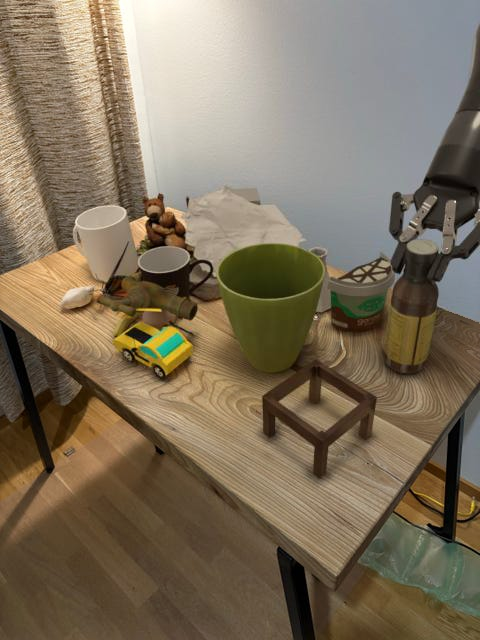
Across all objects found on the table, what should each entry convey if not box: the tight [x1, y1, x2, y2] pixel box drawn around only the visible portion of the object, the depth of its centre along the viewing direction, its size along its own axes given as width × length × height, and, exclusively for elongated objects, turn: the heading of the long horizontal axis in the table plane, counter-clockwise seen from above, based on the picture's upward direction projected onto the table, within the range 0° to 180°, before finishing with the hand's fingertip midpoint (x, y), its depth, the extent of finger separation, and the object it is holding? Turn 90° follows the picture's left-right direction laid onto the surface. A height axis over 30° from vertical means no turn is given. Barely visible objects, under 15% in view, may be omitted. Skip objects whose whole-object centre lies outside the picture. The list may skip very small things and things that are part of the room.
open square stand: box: [261, 358, 378, 480], centre depth 68 cm, size 10×10×7 cm
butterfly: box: [90, 241, 129, 313], centre depth 94 cm, size 12×10×10 cm
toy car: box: [112, 308, 195, 380], centre depth 81 cm, size 12×8×8 cm, turn 53°
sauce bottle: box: [384, 238, 440, 374], centre depth 74 cm, size 6×6×20 cm
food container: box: [327, 252, 396, 333], centre depth 86 cm, size 12×6×10 cm, turn 126°
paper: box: [180, 184, 307, 277], centre depth 100 cm, size 24×6×20 cm
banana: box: [112, 311, 144, 339], centre depth 90 cm, size 8×2×4 cm
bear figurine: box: [136, 192, 198, 264], centre depth 105 cm, size 14×15×12 cm
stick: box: [169, 321, 195, 337], centre depth 86 cm, size 6×1×2 cm
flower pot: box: [216, 243, 325, 374], centre depth 78 cm, size 15×15×16 cm
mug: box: [72, 204, 139, 283], centre depth 102 cm, size 10×12×12 cm
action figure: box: [96, 272, 199, 322], centre depth 82 cm, size 15×4×15 cm
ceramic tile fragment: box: [190, 264, 222, 301], centre depth 99 cm, size 12×3×10 cm
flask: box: [308, 246, 331, 313], centre depth 91 cm, size 7×7×10 cm
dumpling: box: [59, 285, 97, 310], centre depth 96 cm, size 7×5×4 cm
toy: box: [230, 187, 261, 205], centre depth 110 cm, size 10×8×15 cm
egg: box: [142, 309, 177, 331], centre depth 88 cm, size 5×5×7 cm
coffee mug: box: [138, 246, 213, 299], centre depth 91 cm, size 12×9×10 cm
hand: (413, 276), depth 69 cm, fingers closed on sauce bottle, 4 cm apart
